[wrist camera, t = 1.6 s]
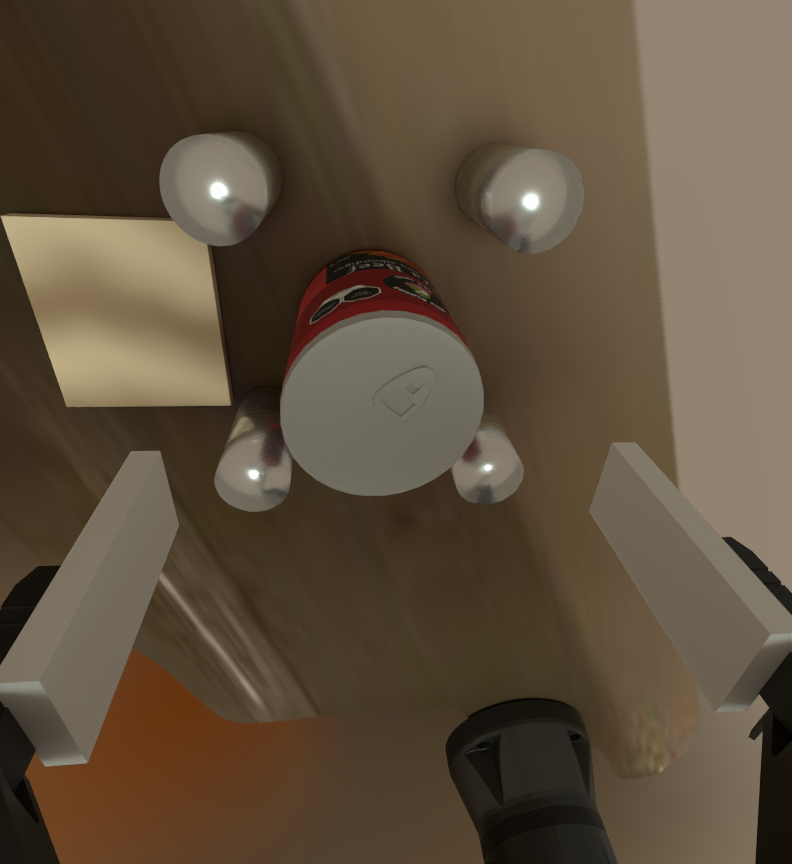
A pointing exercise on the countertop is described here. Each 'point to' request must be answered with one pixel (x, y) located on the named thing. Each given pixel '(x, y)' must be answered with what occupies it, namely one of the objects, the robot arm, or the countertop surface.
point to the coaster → (124, 309)
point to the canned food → (378, 379)
